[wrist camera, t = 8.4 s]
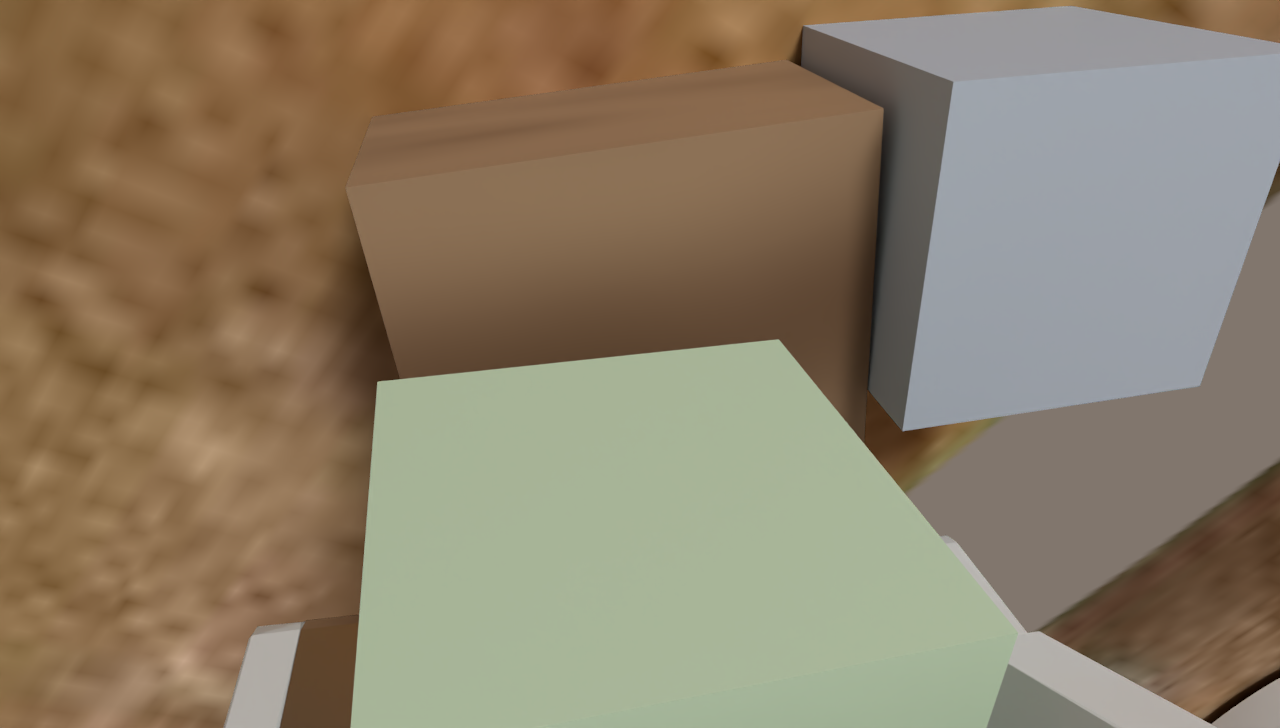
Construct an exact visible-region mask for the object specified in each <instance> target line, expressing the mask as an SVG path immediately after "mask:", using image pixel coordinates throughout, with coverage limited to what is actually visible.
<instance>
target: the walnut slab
mask: <svg viewBox="0 0 1280 728" xmlns="http://www.w3.org/2000/svg"><path fill="white" fill-rule="evenodd" d="M883 114H884V108H882V107H880V106H878V105H876V104H874V103H872V102H870V101H868V100H866V99H864V98H862V97H860V96H858V95H856V94H854V93H852V92H850V91H848V90H846V89H844V88H842V87H840V86H838V85H836V84H834V83H832V82H830V81H828V80H826V79H824V78H822V77H820V76H818V75H816V74H814V73H812V72H810V71H808V70H806V69H804V68H802V67H800V66H798V65H796V64H794V63H792V62H790V61H788V60H781V61H774V62H766V63H759V64H752V65H745V66H737V67H730V68H723V69H715V70H708V71H701V72H694V73H686V74H679V75H672V76H665V77H657V78H650V79H643V80H636V81H628V82H621V83H614V84H606V85H599V86H592V87H585V88H577V89H570V90H563V91H556V92H548V93H541V94H534V95H527V96H519V97H512V98H505V99H498V100H490V101H483V102H476V103H468V104H461V105H454V106H447V107H439V108H432V109H425V110H418V111H410V112H403V113H396V114H389V115H381V116H374V117H372V119H371V122H370V124H369V127H368V130H367V132H366V135H365V137H364V140H363V143H362V145H361V148H360V151H359V153H358V156H357V158H356V161H355V164H354V166H353V169H352V171H351V174H350V177H349V179H348V182H347V184H346V187H345V188H346V192H347V195H348V199H349V202H350V206H351V209H352V213H353V216H354V220H355V223H356V227H357V230H358V234H359V237H360V241H361V244H362V248H363V251H364V255H365V258H366V262H367V265H368V269H369V272H370V276H371V279H372V283H373V286H374V290H375V294H376V297H377V301H378V304H379V308H380V311H381V315H382V318H383V322H384V325H385V329H386V332H387V336H388V339H389V343H390V346H391V350H392V353H393V357H394V360H395V364H396V367H397V371H398V374H399V378H400V379H407V378H417V377H426V376H436V375H445V374H455V373H464V372H474V371H483V370H493V369H502V368H512V367H521V366H530V365H540V364H549V363H559V362H568V361H578V360H587V359H597V358H606V357H616V356H625V355H635V354H644V353H654V352H663V351H673V350H682V349H691V348H701V347H710V346H720V345H729V344H739V343H748V342H758V341H767V340H777V339H779V340H780V341H781V343H782V344H783V345H784V346H785V348H786V349H787V350H788V351H789V352H790V354H791V355H792V356H793V357H794V359H795V360H796V361H797V362H798V363H799V365H800V366H801V367H802V368H803V370H804V371H805V372H806V373H807V374H808V376H809V377H810V378H811V379H812V381H813V382H814V383H815V384H816V385H817V387H818V388H819V389H820V390H821V392H822V393H823V394H824V395H825V397H826V398H827V399H828V400H829V401H830V403H831V404H832V405H833V406H834V408H835V409H836V410H837V411H838V412H839V414H840V415H841V416H842V417H843V419H844V420H845V421H846V422H847V423H848V425H849V426H850V427H851V428H852V430H853V431H854V432H855V433H856V434H857V436H858V437H859V438H860V439H861V441H862V442H863V443H864V439H865V422H866V404H867V387H868V370H869V353H870V336H871V319H872V302H873V285H874V268H875V250H876V233H877V216H878V199H879V182H880V165H881V148H882V131H883Z"/></svg>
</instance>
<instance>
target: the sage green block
mask: <svg viewBox="0 0 1280 728" xmlns="http://www.w3.org/2000/svg"><path fill="white" fill-rule="evenodd" d="M1017 636H1018V632H1017V630H1016V629H1015V628H1014V627H1013V626H1012V624H1011V623H1010V622H1009V621H1008V619H1007V618H1006V617H1005V616H1004V615H1003V613H1002V612H1001V611H1000V610H999V608H998V607H997V606H996V605H995V604H994V602H993V601H992V600H991V599H990V597H989V596H988V595H987V594H986V592H985V591H984V590H983V589H982V588H981V586H980V585H979V584H978V583H977V581H976V580H975V579H974V578H973V577H972V575H971V574H970V573H969V572H968V570H967V569H966V568H965V567H964V566H963V564H962V563H961V562H960V561H959V559H958V558H957V557H956V556H955V555H954V553H953V552H952V551H951V550H950V548H949V547H948V546H947V545H946V543H945V542H944V541H943V540H942V539H941V537H940V536H939V535H938V534H937V532H936V531H935V530H934V529H933V528H932V526H931V525H930V524H929V523H928V521H927V520H926V519H925V518H924V517H923V515H922V514H921V513H920V512H919V510H918V509H917V508H916V507H915V506H914V504H913V503H912V502H911V501H910V499H909V498H908V497H907V496H906V494H905V493H904V492H903V491H902V490H901V488H900V487H899V486H898V485H897V483H896V482H895V481H894V480H893V479H892V477H891V476H890V475H889V474H888V472H887V471H886V470H885V469H884V468H883V466H882V465H881V464H880V463H879V461H878V460H877V459H876V458H875V457H874V455H873V454H872V453H871V452H870V450H869V449H868V448H867V447H866V446H865V444H864V443H863V442H862V441H861V439H860V438H859V437H858V436H857V434H856V433H855V432H854V431H853V430H852V428H851V427H850V426H849V425H848V423H847V422H846V421H845V420H844V419H843V417H842V416H841V415H840V414H839V412H838V411H837V410H836V409H835V408H834V406H833V405H832V404H831V403H830V401H829V400H828V399H827V398H826V397H825V395H824V394H823V393H822V392H821V390H820V389H819V388H818V387H817V385H816V384H815V383H814V382H813V381H812V379H811V378H810V377H809V376H808V374H807V373H806V372H805V371H804V370H803V368H802V367H801V366H800V365H799V363H798V362H797V361H796V360H795V359H794V357H793V356H792V355H791V354H790V352H789V351H788V350H787V349H786V348H785V346H784V345H783V344H782V343H781V341H780V340H779V339H777V340H767V341H758V342H748V343H739V344H729V345H720V346H710V347H701V348H691V349H682V350H673V351H663V352H654V353H644V354H635V355H625V356H616V357H606V358H597V359H587V360H578V361H568V362H559V363H549V364H540V365H530V366H521V367H512V368H502V369H493V370H483V371H474V372H464V373H455V374H445V375H436V376H426V377H417V378H407V379H398V380H388V381H379V382H377V394H376V407H375V419H374V432H373V445H372V458H371V471H370V484H369V497H368V509H367V522H366V535H365V548H364V561H363V574H362V586H361V599H360V612H359V625H358V638H357V651H356V664H355V676H354V689H353V702H352V715H351V728H987V725H988V722H989V719H990V716H991V713H992V710H993V707H994V704H995V701H996V698H997V695H998V692H999V689H1000V686H1001V683H1002V680H1003V677H1004V674H1005V671H1006V668H1007V665H1008V662H1009V659H1010V656H1011V654H1012V651H1013V648H1014V645H1015V642H1016V639H1017Z"/></svg>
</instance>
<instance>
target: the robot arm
mask: <svg viewBox="0 0 1280 728" xmlns="http://www.w3.org/2000/svg"><path fill="white" fill-rule="evenodd" d="M940 537H941V539H942V540H943V541H944V542H945V543H946V545H947V546H948V547H949V548H950V550H951V551H952V552H953V553H954V555H955V556H956V557H957V558H958V559H959V561H960V562H961V563H962V564H963V566H964V567H965V568H966V569H967V570H968V572H969V573H970V574H971V575H972V577H973V578H974V579H975V580H976V581H977V583H978V584H979V585H980V586H981V588H982V589H983V590H984V591H985V592H986V594H987V595H988V596H989V597H990V599H991V600H992V601H993V602H994V604H995V605H996V606H997V607H998V608H999V610H1000V611H1001V612H1002V613H1003V615H1004V616H1005V617H1006V618H1007V619H1008V621H1009V622H1010V623H1011V624H1012V626H1013V627H1014V628H1015V629H1016V630H1017V632H1018V636H1017V639H1016V642H1015V645H1014V648H1013V651H1012V654H1011V656H1010V659H1009V662H1008V665H1007V668H1006V671H1005V674H1004V677H1003V680H1002V683H1001V686H1000V689H999V692H998V695H997V698H996V701H995V704H994V707H993V710H992V713H991V716H990V719H989V722H988V725H987V728H1280V678H1279V679H1277V680H1275V681H1273V682H1272V683H1270V684H1268V685H1267V686H1265V687H1264V688H1262V689H1260V690H1259V691H1257V692H1256V693H1254V694H1252V695H1251V696H1249V697H1248V698H1246V699H1245V700H1243V701H1242V702H1240V703H1239V704H1238V705H1236V706H1235V707H1233V708H1232V709H1230V710H1229V711H1228V712H1226V713H1225V714H1224V715H1222V716H1221V717H1220V718H1218V719H1217V720H1216V721H1215V722H1213V723H1212V724H1210V723H1208V722H1206V721H1204V720H1202V719H1200V718H1199V717H1197V716H1195V715H1193V714H1191V713H1189V712H1187V711H1186V710H1184V709H1182V708H1180V707H1178V706H1176V705H1175V704H1173V703H1171V702H1169V701H1167V700H1165V699H1163V698H1162V697H1160V696H1158V695H1156V694H1154V693H1152V692H1151V691H1149V690H1147V689H1145V688H1143V687H1141V686H1139V685H1138V684H1136V683H1134V682H1132V681H1130V680H1128V679H1126V678H1125V677H1123V676H1121V675H1119V674H1117V673H1115V672H1114V671H1112V670H1110V669H1108V668H1106V667H1104V666H1102V665H1101V664H1099V663H1097V662H1095V661H1093V660H1091V659H1090V658H1088V657H1086V656H1084V655H1082V654H1080V653H1078V652H1077V651H1075V650H1073V649H1071V648H1069V647H1067V646H1066V645H1064V644H1062V643H1060V642H1058V641H1056V640H1054V639H1053V638H1051V637H1049V636H1047V635H1045V634H1043V633H1041V632H1040V631H1037V632H1029V633H1027V631H1026V630H1025V629H1024V628H1023V626H1022V625H1021V624H1020V622H1019V621H1018V620H1017V619H1016V617H1015V616H1014V615H1013V613H1012V612H1011V611H1010V610H1009V608H1008V607H1007V606H1006V605H1005V603H1004V602H1003V601H1002V599H1001V598H1000V597H999V596H998V594H997V593H996V592H995V590H994V589H993V588H992V587H991V585H990V584H989V583H988V582H987V580H986V579H985V578H984V576H983V575H982V574H981V573H980V571H979V570H978V569H977V568H976V566H975V565H974V564H973V563H972V561H971V560H970V559H969V558H968V556H967V555H966V554H965V552H964V551H963V550H962V548H961V547H960V546H959V545H958V543H957V542H956V541H955V540H953V539H952V538H950V537H948V536H940ZM358 625H359V615H350V616H341V617H332V618H323V619H314V620H306V621H305V622H296V623H286V624H277V625H267V626H258V627H257V628H256V630H255V631H254V633H253V634H252V635H251V637H250V638H249V641H248V644H247V648H246V651H245V655H244V658H243V662H242V665H241V669H240V672H239V675H238V679H237V682H236V686H235V689H234V693H233V696H232V700H231V703H230V707H229V710H228V714H227V717H226V721H225V724H224V728H351V715H352V702H353V689H354V676H355V664H356V651H357V638H358Z"/></svg>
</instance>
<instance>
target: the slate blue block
mask: <svg viewBox="0 0 1280 728" xmlns="http://www.w3.org/2000/svg"><path fill="white" fill-rule="evenodd" d="M801 67H802V68H804V69H806V70H808V71H810V72H812V73H814V74H816V75H818V76H820V77H822V78H824V79H826V80H828V81H830V82H832V83H834V84H836V85H838V86H840V87H842V88H844V89H846V90H848V91H850V92H852V93H854V94H856V95H858V96H860V97H862V98H864V99H866V100H868V101H870V102H872V103H874V104H876V105H878V106H880V107H882V108H884V114H883V131H882V148H881V165H880V182H879V199H878V216H877V233H876V250H875V268H874V285H873V302H872V319H871V336H870V353H869V370H868V387H867V389H868V391H869V392H870V393H871V394H872V395H873V397H874V398H875V399H876V400H877V401H878V403H879V404H880V405H881V406H882V407H883V409H884V410H885V411H886V412H887V413H888V415H889V416H890V417H891V418H892V419H893V421H894V422H895V423H896V424H897V425H898V427H899V428H900V429H901V430H902V431H908V430H914V429H921V428H927V427H934V426H941V425H947V424H954V423H960V422H967V421H974V420H980V419H987V418H994V417H1000V416H1007V415H1013V414H1020V413H1027V412H1033V411H1040V410H1046V409H1053V408H1060V407H1066V406H1073V405H1080V404H1086V403H1093V402H1099V401H1106V400H1112V399H1119V398H1126V397H1132V396H1139V395H1146V394H1152V393H1159V392H1166V391H1172V390H1179V389H1185V388H1192V387H1199V386H1200V384H1201V382H1202V379H1203V376H1204V373H1205V370H1206V367H1207V365H1208V362H1209V359H1210V356H1211V353H1212V350H1213V348H1214V345H1215V342H1216V339H1217V336H1218V334H1219V331H1220V328H1221V325H1222V322H1223V319H1224V317H1225V314H1226V311H1227V308H1228V306H1229V303H1230V300H1231V297H1232V294H1233V291H1234V289H1235V286H1236V283H1237V280H1238V277H1239V275H1240V272H1241V269H1242V266H1243V263H1244V260H1245V258H1246V255H1247V252H1248V249H1249V246H1250V244H1251V241H1252V238H1253V235H1254V232H1255V230H1256V227H1257V224H1258V221H1259V218H1260V215H1261V213H1262V210H1263V207H1264V204H1265V201H1266V199H1267V196H1268V193H1269V190H1270V187H1271V184H1272V182H1273V179H1274V176H1275V173H1276V170H1277V168H1278V165H1279V162H1280V43H1275V42H1270V41H1264V40H1259V39H1253V38H1248V37H1242V36H1236V35H1231V34H1225V33H1220V32H1214V31H1208V30H1203V29H1197V28H1192V27H1186V26H1181V25H1175V24H1169V23H1164V22H1158V21H1153V20H1147V19H1141V18H1136V17H1130V16H1125V15H1119V14H1113V13H1108V12H1102V11H1097V10H1091V9H1086V8H1080V7H1074V6H1064V7H1050V8H1036V9H1022V10H1009V11H995V12H981V13H968V14H954V15H940V16H927V17H913V18H899V19H886V20H872V21H858V22H845V23H831V24H817V25H804V26H803V38H802V56H801Z"/></svg>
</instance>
